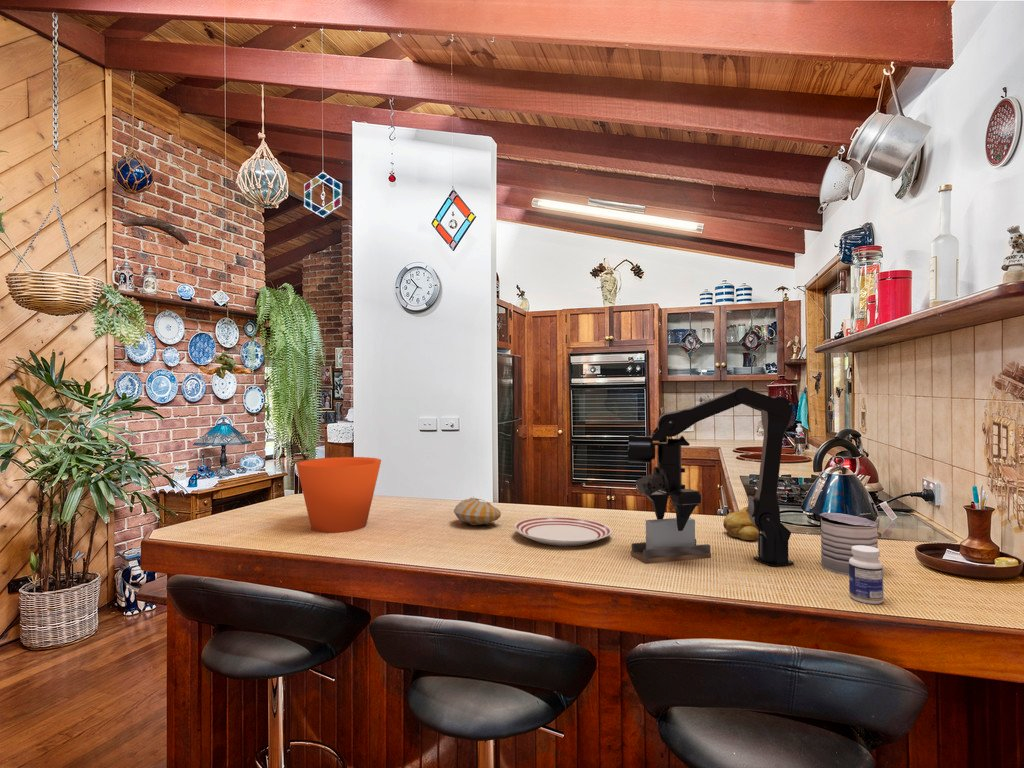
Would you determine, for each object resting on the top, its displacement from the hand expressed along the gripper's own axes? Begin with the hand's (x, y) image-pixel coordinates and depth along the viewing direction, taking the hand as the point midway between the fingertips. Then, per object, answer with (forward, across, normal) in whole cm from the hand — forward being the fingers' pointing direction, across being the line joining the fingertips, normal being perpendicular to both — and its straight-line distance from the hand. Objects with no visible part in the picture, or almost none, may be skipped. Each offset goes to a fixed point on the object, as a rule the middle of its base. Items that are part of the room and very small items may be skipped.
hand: (669, 526), depth 137 cm
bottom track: (+7, 0, 0) cm, 7 cm away
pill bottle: (+8, +36, +21) cm, 43 cm away
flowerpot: (+8, -56, -80) cm, 98 cm away
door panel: (+6, 0, 0) cm, 6 cm away
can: (+8, +20, +34) cm, 40 cm away
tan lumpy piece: (+8, -11, +30) cm, 33 cm away
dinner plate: (+8, -25, -19) cm, 32 cm away
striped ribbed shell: (+8, -49, -38) cm, 63 cm away
